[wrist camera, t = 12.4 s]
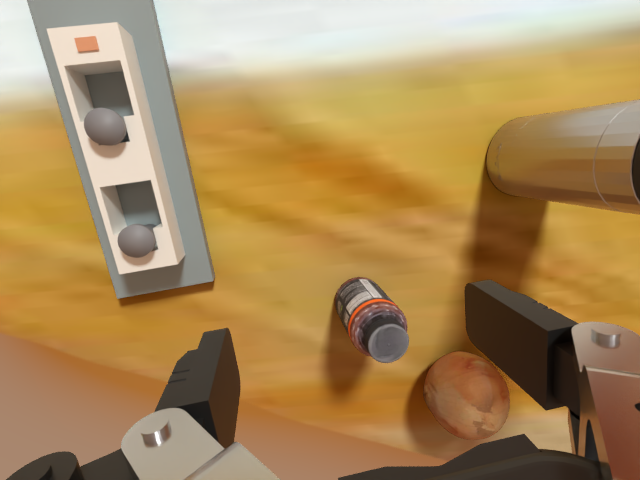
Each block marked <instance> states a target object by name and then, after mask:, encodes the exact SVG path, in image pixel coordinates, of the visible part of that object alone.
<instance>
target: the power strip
mask: <svg viewBox="0 0 640 480" xmlns="http://www.w3.org/2000/svg"><path fill="white" fill-rule="evenodd" d="M47 33H48V36H49V39H50V43H51V46H52V50H53V53H54V56H55V60H56V63H57V66H58V70H59V73H60V76H61V80H62V83H63V87H64V90H65V93H66V97H67V100H68V103H69V107H70V110H71V114H72V117H73V120H74V124H75V127H76V130H77V134H78V137H79V141H80V144H81V147H82V151H83V154H84V157H85V161H86V164H87V167H88V171H89V174H90V178H91V181H92V184H93V188H94V191H95V194H96V198H97V201H98V205H99V208H100V211H101V215H102V218H103V221H104V225H105V228H106V232H107V235H108V238H109V242H110V245H111V248H112V252H113V255H114V258H115V262H116V265H117V269H118V272H119V274H125V273H131V272H137V271H142V270H148V269H154V268H159V267H165V266H171V265H177V264H178V263H179V262H180V261H181V260H182V258H183V257H184V256H185V251H184V247H183V243H182V239H181V235H180V231H179V226H178V222H177V218H176V214H175V210H174V206H173V202H172V198H171V194H170V189H169V185H168V181H167V177H166V173H165V169H164V165H163V161H162V157H161V153H160V148H159V144H158V140H157V136H156V132H155V128H154V124H153V120H152V116H151V111H150V107H149V103H148V99H147V95H146V91H145V87H144V83H143V79H142V75H141V70H140V66H139V62H138V58H137V54H136V50H135V46H134V42H133V38H132V36H131V35H130V34H129V33H128V32H127V31H126V30H125V29H124V28H123V27H122V26H121V25H120V24H119V23H118V22H113V23H102V24H91V25H80V26H69V27H58V28H48V29H47ZM120 71H123V73H124V77H125V81H126V85H127V88H128V92H129V96H130V100H131V104H132V108H133V112H134V115H131V116H123V117H124V121H125V124H126V128H127V132H128V136H129V140H130V142H122V143H119V144H116V145H112V146H108V145H100V144H98V143H96V142H94V141H93V140H91V139H90V138H89V137H88V135H87V134H86V132H85V129H84V119H85V117H86V115H87V114H88V112H89V111H91V110H93V109H94V107H93V104H92V100H91V97H90V93H89V89H88V86H87V82H86V79H85V75H92V74H101V73H110V72H120ZM147 180H151V183H152V187H153V190H154V194H155V198H156V202H157V206H158V210H159V214H160V218H161V222H162V223H161V224H159V225H158V226H156V227H154V228H153V231H154V235H155V238H156V242H157V243H156V244H155V246H154V248H153V250H152V251H151V252H149V253H148V254H147V255H145V256H143V257H139V258H134V257H130V256H128V255H126V254H124V253H123V252H122V251H121V249H120V248H119V246H118V235H119V233H120V232H121V230H123V229H124V228H125V227H127V225H126V221H125V218H124V214H123V210H122V207H121V203H120V200H119V196H118V193H117V189H116V186H115V185H119V184H126V183H133V182H140V181H147Z"/></svg>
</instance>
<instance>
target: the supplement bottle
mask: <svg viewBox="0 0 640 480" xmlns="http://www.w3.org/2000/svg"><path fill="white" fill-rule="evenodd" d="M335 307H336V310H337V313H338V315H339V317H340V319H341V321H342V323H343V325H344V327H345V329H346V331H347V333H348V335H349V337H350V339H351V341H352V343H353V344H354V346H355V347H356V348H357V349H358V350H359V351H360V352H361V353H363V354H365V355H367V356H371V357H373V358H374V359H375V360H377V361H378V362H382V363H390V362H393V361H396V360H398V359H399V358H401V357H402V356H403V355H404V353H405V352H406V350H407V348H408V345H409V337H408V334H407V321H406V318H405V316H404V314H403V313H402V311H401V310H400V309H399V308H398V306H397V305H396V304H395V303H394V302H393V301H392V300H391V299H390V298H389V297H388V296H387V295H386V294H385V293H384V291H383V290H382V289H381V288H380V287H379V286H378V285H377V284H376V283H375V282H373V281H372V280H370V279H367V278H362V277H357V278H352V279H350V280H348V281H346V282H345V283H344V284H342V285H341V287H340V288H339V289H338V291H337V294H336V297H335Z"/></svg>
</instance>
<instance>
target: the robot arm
mask: <svg viewBox="0 0 640 480" xmlns="http://www.w3.org/2000/svg"><path fill="white" fill-rule="evenodd" d="M486 163H487V171H488V174H489V177H490V179H491V181H492V182H493V184H494V185H495V186H496V187H497V188H498V189H499V190H500V191H502V192H504V193H506V194H509V195H514V196H521V197H527V198H533V199H539V200H546V201H552V202H559V203H566V204H572V205H579V206H585V207H592V208H599V209H605V210H612V211H618V212H625V213H633V214H639V215H640V99H639V100H632V101H625V102H619V103H612V104H606V105H599V106H593V107H586V108H579V109H573V110H566V111H560V112H553V113H546V114H539V115H533V116H527V117H520V118H517V119H514V120H511V121H510V122H508V123H506V124H505V125H504V126H503V127H502V128H500V129H499V130H498V132H497V133H496V134H495V136H494V137H493V139H492V141H491V143H490V145H489V149H488V153H487V162H486ZM465 315H466V330H467V333H468V336H469V338H470V340H471V342H472V343H473V344H474V345H475V346H476V347H477V348H478V349H479V350H480V351H481V352H483V353H484V354H485V355H486V356H487V357H488V358H489V359H490V360H491V361H492V362H494V363H495V364H496V365H497V366H498V367H499V368H500V369H501V370H502V371H503V372H504V373H506V374H507V375H508V376H509V377H510V378H511V379H512V380H513V381H514V382H515V383H517V384H518V385H519V386H520V387H521V388H522V389H523V390H524V391H525V392H526V393H527V394H529V395H530V396H531V397H532V398H533V399H534V400H535V401H536V402H537V403H538V404H540V405H541V406H542V407H543V408H544V409H545V410H550V409H554V408H559V407H563V406H567V407H568V425H569V432H570V440H571V447H572V454H571V453H567V452H562V451H556V450H546V449H538V448H537V447H536V446H535V445H534V444H533V443H532V442H531V441H530V440H529V439H528V437H527V436H526V435H525V434H521V435H517V436H513V437H509V438H505V439H500V440H496V441H492V442H488V443H483V444H480V445H478V446H476V447H474V448H473V449H471V450H469V451H467V452H465V453H464V454H462V455H460V456H458V457H456V458H454V459H453V460H451V461H449V462H447V463H445V464H443V465H441V466H434V467H383V468H379V469H374V470H370V471H365V472H362V473H358V474H353V475H349V476H344V477H341V478H338V480H640V336H639V335H638V334H636V333H635V332H633V331H631V330H629V329H626V328H624V327H621V326H618V325H614V324H609V323H602V322H584V323H580V324H578V323H576V322H575V321H573V320H571V319H569V318H567V317H565V316H563V315H561V314H560V313H558V312H556V311H554V310H552V309H548V307H547V306H545V305H543V304H541V303H538V302H537V301H535V300H534V299H532V298H530V297H528V296H526V295H524V294H520V293H517V292H513V291H510V290H509V289H507V288H505V287H503V286H501V285H500V284H498V283H496V282H494V281H492V280H484V281H478V282H473V283H468V284H467V285H466V286H465ZM239 397H240V376H239V370H238V365H237V361H236V356H235V352H234V347H233V343H232V338H231V334H230V331H229V329H228V328H224V329H219V330H214V331H208V332H204V333H203V336H202V338H201V341H200V344H199V346H198V349H196V350H191V351H188V352H187V353H186V354H185V355H184V356H183V357H182V358H181V359H179V360H178V361H177V363H176V365H175V368H174V370H173V372H172V375H171V376H170V379H169V381H168V384H167V385H166V387H165V390H164V392H163V394H162V396H161V398H160V401H159V403H158V405H157V407H156V410H155V412H154V413H152V414H150V415H148V416H146V417H144V418H143V419H141V420H140V421H138V422H137V423H136V424H134V425H133V426H132V427H131V428H130V429H129V431H128V432H127V433H126V434H125V436H124V438H123V440H122V444H121V449H119V450H117V451H115V452H113V453H111V454H109V455H106V456H104V457H102V458H99V459H97V460H94V461H92V462H90V463H88V464H85V465H83V466H81V467H80V466H79V463H78V460H77V458H76V456H75V455H74V454H73V453H71V452H56V453H52V454H49V455H46V456H43V457H41V458H39V459H37V460H35V461H32V462H31V463H29V464H27V465H25V466H24V467H22V468H21V469H19V470H18V471H16V472H15V473H14V474H12V475H11V476H10V477H9V478H8V479H6V480H280V479H279V478H278V477H277V476H276V475H275V474H273V472H271V471H270V470H269V469H268V468H267V467H266V466H265V465H263V464H262V463H261V462H260V461H259V460H258V459H257V458H256V457H255V456H254V455H252V454H251V453H250V452H249V451H248V450H247V449H246V448H245V447H243V446H242V445H241V444H240V443H238V442H234V437H235V428H236V421H237V413H238V405H239Z"/></svg>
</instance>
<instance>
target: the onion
mask: <svg viewBox="0 0 640 480" xmlns="http://www.w3.org/2000/svg"><path fill="white" fill-rule="evenodd" d="M423 395H424V399H425V402H426V404H427V406H428V408H429V409H430V411H431V412H432V414H433V415H434V417H435V418H436V419H437V421H438V422H439V423H440V424H441V425H442V426H443V427H444V428H445V429H446V430H447V431H448V432H450V433H452V434H454V435H455V436H457V437H460V438H463V439H469V440H476V439H483V438H487V437H490V436H492V435H493V434H495V433H497V432H498V431H499V430H500V429H501V427H502V426H503V424H504V423H505V420H506V419H507V416H508V412H509V404H510V400H509V391H508V388H507V385H506V382H505V381H504V380H503V378H502V377H501V375H500V373H499V372H498V371H497V369H496V368H495V367H494V366H493V365H492V364H491V363H490V362H489V361H487V360H485V359H484V358H482V357H480V356H478V355H475V354H472V353H468V352H462V351H456V352H452V353H449V354H446V355H444V356H442V357H441V358H439V359H438V360H437V361H436V362H435V363H434V364H433V365H432V367H431V368H430V369H429V371H428V373H427V376H426V379H425V383H424V392H423Z"/></svg>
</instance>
